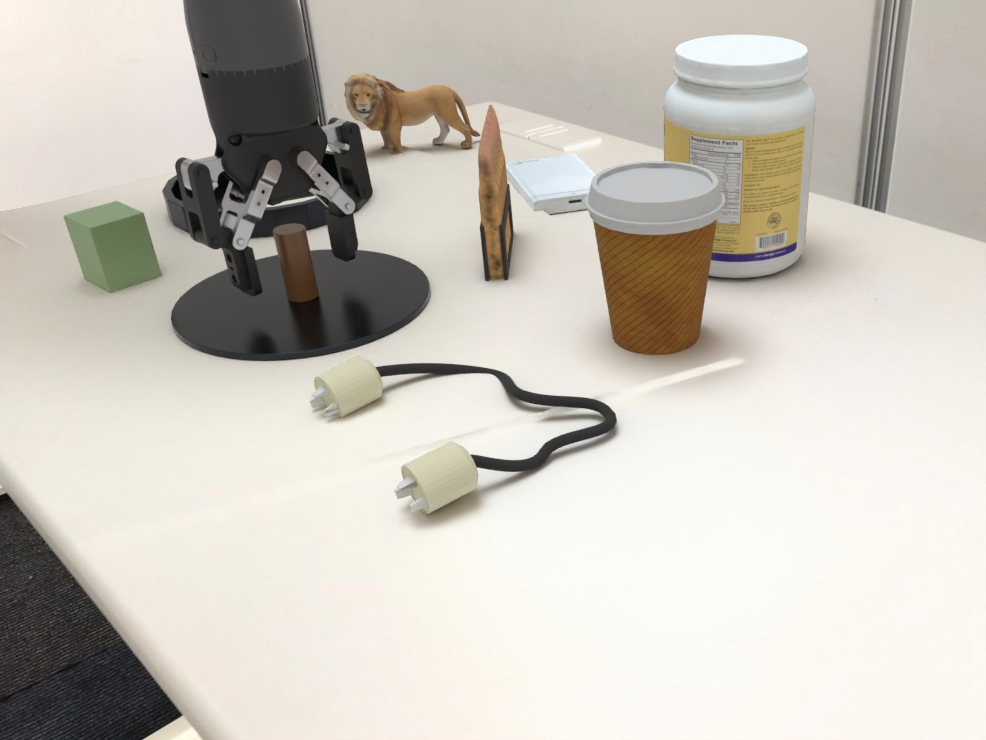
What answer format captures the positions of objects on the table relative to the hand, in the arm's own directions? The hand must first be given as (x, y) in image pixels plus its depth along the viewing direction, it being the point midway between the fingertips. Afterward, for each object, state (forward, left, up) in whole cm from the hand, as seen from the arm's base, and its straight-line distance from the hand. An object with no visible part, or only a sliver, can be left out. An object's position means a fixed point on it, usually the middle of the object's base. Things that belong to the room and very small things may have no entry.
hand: (299, 275), depth 81 cm
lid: (0, 0, -2) cm, 2 cm away
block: (-12, +13, -3) cm, 18 cm away
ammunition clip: (+17, +1, -3) cm, 17 cm away
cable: (+4, -23, -3) cm, 23 cm away
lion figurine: (+21, +35, -3) cm, 41 cm away
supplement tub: (+35, -8, -3) cm, 36 cm away
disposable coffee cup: (+21, -19, -3) cm, 28 cm away
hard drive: (+29, +15, -3) cm, 33 cm away
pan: (+3, +25, -3) cm, 25 cm away
